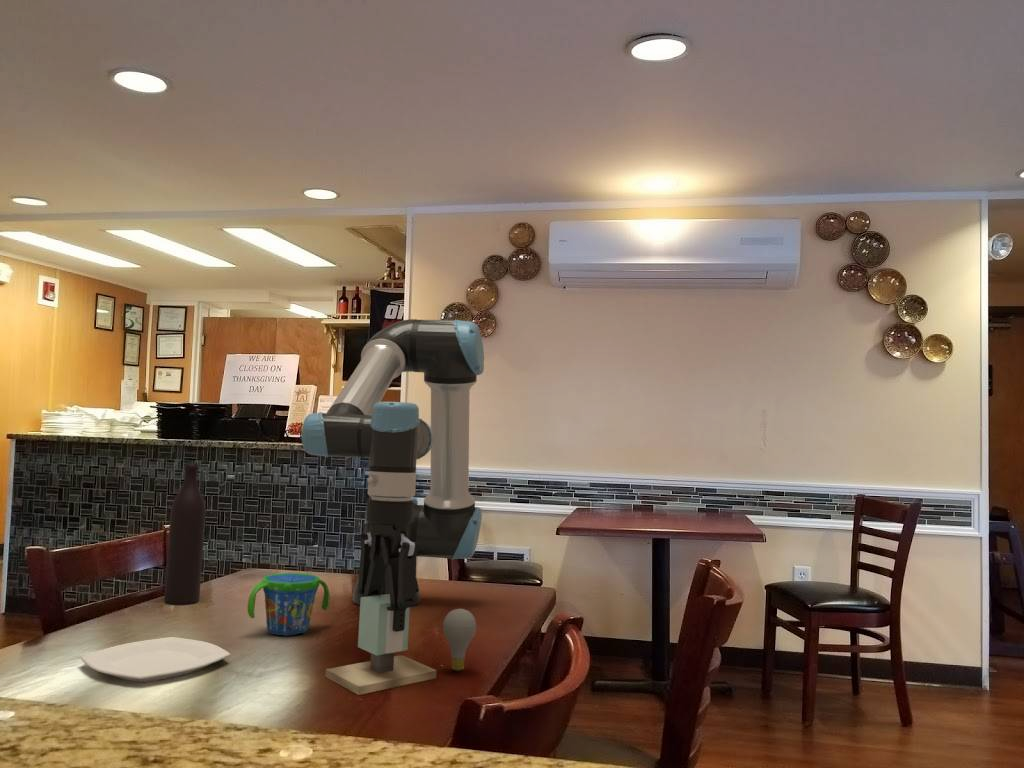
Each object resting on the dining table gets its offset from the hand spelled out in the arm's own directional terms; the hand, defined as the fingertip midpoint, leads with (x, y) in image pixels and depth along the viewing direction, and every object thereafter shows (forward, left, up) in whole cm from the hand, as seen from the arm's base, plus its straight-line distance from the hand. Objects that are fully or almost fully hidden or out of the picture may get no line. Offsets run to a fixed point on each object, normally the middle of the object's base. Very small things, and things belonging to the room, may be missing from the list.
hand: (382, 646), depth 119 cm
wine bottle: (+8, -68, -5) cm, 69 cm away
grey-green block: (0, 0, 0) cm, 0 cm away
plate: (+26, -25, -5) cm, 36 cm away
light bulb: (-12, +4, -5) cm, 14 cm away
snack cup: (0, -33, -5) cm, 33 cm away
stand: (0, 0, -5) cm, 5 cm away
